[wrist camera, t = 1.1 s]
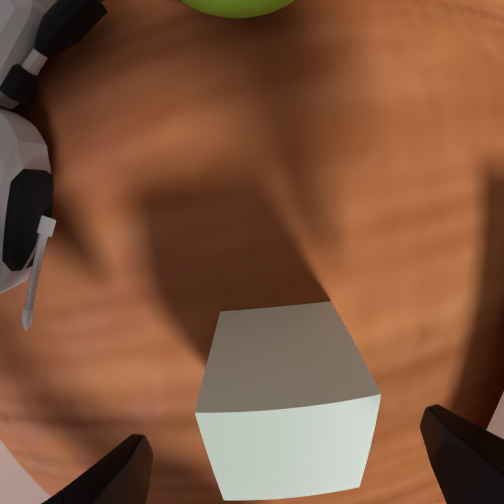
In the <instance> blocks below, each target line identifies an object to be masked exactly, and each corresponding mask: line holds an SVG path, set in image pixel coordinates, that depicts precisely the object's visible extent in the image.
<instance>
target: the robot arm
mask: <svg viewBox="0 0 504 504" xmlns="http://www.w3.org/2000/svg"><path fill="white" fill-rule="evenodd" d="M420 430H421V433H422V436H423V440H424V443H425V446H426V450H427V453H428V457H429V460H430V463H431V466H432V469H433V471H434V473H435V476H436V478H437V481H438V483H439V485H440V488H441V490H442V493H443V495H444V498H445V500H446V503H447V504H504V439H502V438H501V437H499V436H497V435H495V434H493V433H491V432H489V431H487V430H485V429H483V428H481V427H479V426H477V425H475V424H474V423H472V422H470V421H468V420H466V419H464V418H462V417H460V416H459V415H457V414H455V413H453V412H451V411H449V410H447V409H446V408H444V407H442V406H440V405H438V404H435V405H432V406H429V407H427V408H426V409H425V411H424V414H423V417H422V420H421V424H420ZM152 459H153V452H152V449H151V447H150V444H149V442H148V440H147V438H146V436H145V435H143V434H131V435H130V436H129V437H128V438H126V439H125V440H124V441H123V442H122V443H120V444H119V445H118V446H117V447H116V448H114V449H113V450H112V451H111V452H109V453H108V454H107V455H106V456H104V457H103V458H102V459H101V460H99V461H98V462H97V463H96V464H94V465H93V466H92V467H91V468H89V469H88V470H87V471H85V472H84V473H83V474H82V475H80V476H79V477H78V478H76V479H75V480H74V481H72V482H71V483H70V484H69V485H67V486H66V487H65V488H63V490H60V491H59V492H58V493H56V494H55V495H54V496H52V497H51V498H49V499H48V500H46V501H45V502H43V503H42V504H145V503H146V499H147V495H148V490H149V482H150V474H151V466H152Z"/></svg>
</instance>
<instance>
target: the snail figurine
mask: <svg viewBox="0 0 504 504" xmlns="http://www.w3.org/2000/svg"><path fill="white" fill-rule="evenodd" d="M180 1H182V2H183V3H184V4H186V5H188V6H189V7H191V8H193V9H195V10H198V11H200V12H203V13H206V14H209V15H213V16H217V17H224V18H250V17H256V16H261V15H265V14H269V13H272V12H274V11H277V10H279V9H281V8H283V7H285V6H287V5H289V4H290V3H292V2H293V1H295V0H180Z"/></svg>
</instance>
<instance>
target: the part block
mask: <svg viewBox="0 0 504 504" xmlns="http://www.w3.org/2000/svg"><path fill="white" fill-rule="evenodd" d="M380 399H381V392H380V390H379V389H378V387H377V385H376V383H375V381H374V379H373V377H372V375H371V373H370V371H369V369H368V367H367V366H366V364H365V362H364V360H363V358H362V356H361V354H360V352H359V351H358V349H357V347H356V345H355V343H354V341H353V339H352V338H351V336H350V334H349V332H348V330H347V328H346V327H345V325H344V323H343V321H342V319H341V318H340V316H339V314H338V312H337V310H336V309H335V307H334V305H333V303H332V301H328V302H319V303H310V304H300V305H290V306H280V307H269V308H258V309H245V310H232V311H220V314H219V318H218V322H217V326H216V330H215V334H214V338H213V342H212V345H211V349H210V353H209V357H208V361H207V365H206V369H205V373H204V377H203V382H202V386H201V390H200V394H199V398H198V402H197V406H196V410H195V415H196V418H197V422H198V425H199V428H200V432H201V435H202V438H203V441H204V445H205V448H206V451H207V454H208V457H209V460H210V463H211V466H212V469H213V472H214V475H215V477H216V480H217V483H218V486H219V489H220V491H221V494H222V497H223V499H224V500H267V499H282V498H293V497H302V496H310V495H318V494H324V493H331V492H336V491H342V490H347V489H352V488H357V487H360V483H361V480H362V476H363V473H364V469H365V466H366V462H367V458H368V454H369V450H370V446H371V442H372V438H373V433H374V429H375V424H376V419H377V414H378V409H379V404H380Z"/></svg>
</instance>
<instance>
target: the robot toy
mask: <svg viewBox="0 0 504 504" xmlns="http://www.w3.org/2000/svg"><path fill="white" fill-rule="evenodd" d="M102 1H104V0H0V293H2V292H4V291H6V290H8V289H11V288H13V287H15V286H17V285H19V284H20V283H22V282H24V281H26V280H27V278H28V276H29V274H30V272H31V276H30V281H29V286H28V292H27V298H26V304H25V308H24V309H23V314H22V321H21V322H22V324H23V327H24V329H25V331H27V330H28V328H29V327H30V326H31V324H32V323H33V315H34V310H33V305H34V299H35V293H36V288H37V282H38V277H39V273H40V268H41V263H42V259H43V255H44V251H45V247H46V245H47V242H48V236H49V237H52V235H53V231H54V227H55V224H56V220H54V219H51V214H52V208H53V176H52V175H51V168H50V163H49V157H48V151H47V145H46V143H45V142H44V140H43V138H42V137H41V135H40V133H39V132H38V130H37V128H36V127H35V126H34V125H33V124H32V123H31V122H29V121H28V120H26V119H25V118H23V117H21V116H20V115H18V114H16V113H14V112H11V111H8V110H5V109H13V108H14V107H16V106H17V105H18V104H19V103H23V104H26V103H27V102H28V100H29V99H30V97H31V96H32V94H33V93H34V91H35V90H36V88H37V87H38V85H39V84H40V82H39V78H38V76H37V75H38V73H39V71H40V69H41V67H43V66H44V64H45V62H46V60H47V59H48V58H50V57H52V56H54V55H56V54H58V53H60V52H62V51H64V50H66V49H68V48H70V47H71V46H73V45H75V44H77V43H79V42H80V41H81V39H82V38H83V37H84V36H85V35H86V34H87V33H88V32H89V31H90V30H91V28H92V27H93V26H94V25H95V24H96V23H97V22H98V21H99V20H100V19H101V18H102V17H103V16H104V15H105V14H106V13H107V10H106V9H105V7H104V6H103V4H102V3H101V2H102ZM31 270H32V271H31Z"/></svg>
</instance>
